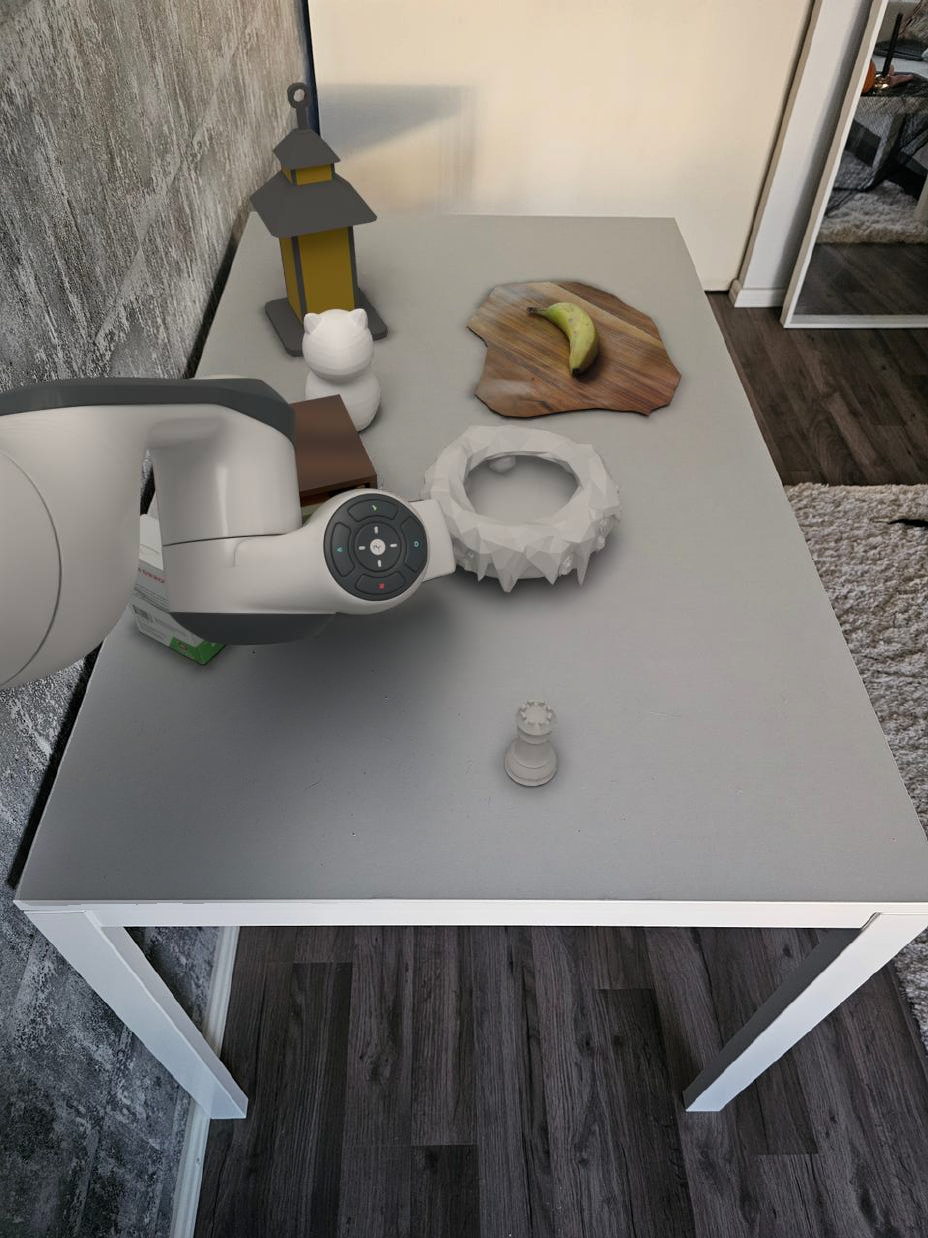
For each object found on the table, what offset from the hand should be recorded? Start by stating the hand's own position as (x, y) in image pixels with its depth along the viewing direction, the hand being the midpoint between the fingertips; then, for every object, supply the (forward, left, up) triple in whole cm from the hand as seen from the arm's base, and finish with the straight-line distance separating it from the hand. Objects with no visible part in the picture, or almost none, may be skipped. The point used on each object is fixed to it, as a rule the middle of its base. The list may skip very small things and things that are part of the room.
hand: (330, 564), depth 87 cm
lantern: (+12, +53, -6) cm, 55 cm away
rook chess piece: (+11, -24, -6) cm, 27 cm away
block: (0, +10, -3) cm, 10 cm away
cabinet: (0, +14, -5) cm, 15 cm away
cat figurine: (+9, +31, -6) cm, 33 cm away
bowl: (+20, +2, -6) cm, 21 cm away
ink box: (-15, +1, -6) cm, 16 cm away
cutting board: (+41, +36, -6) cm, 55 cm away
